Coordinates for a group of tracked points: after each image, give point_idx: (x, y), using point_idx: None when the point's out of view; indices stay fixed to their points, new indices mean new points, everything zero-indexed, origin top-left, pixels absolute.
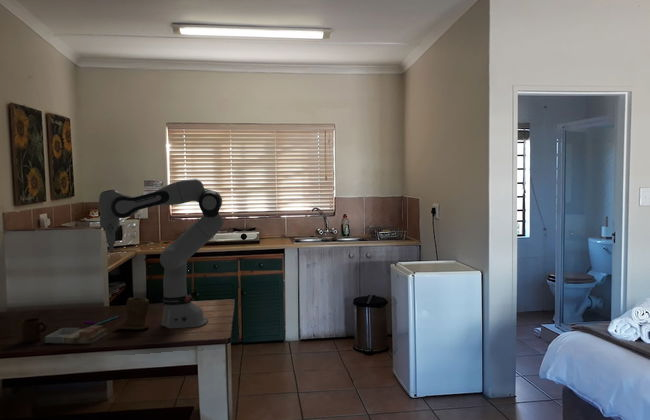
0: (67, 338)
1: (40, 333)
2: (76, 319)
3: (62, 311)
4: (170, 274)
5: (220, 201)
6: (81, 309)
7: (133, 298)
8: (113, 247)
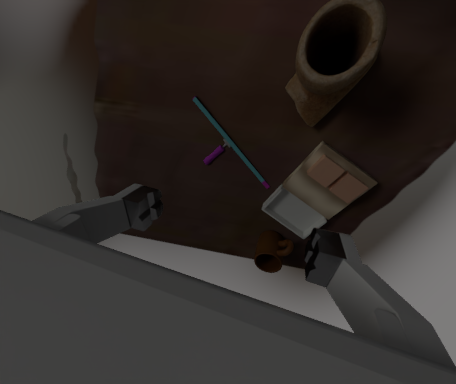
0: (334, 214)
1: (277, 239)
2: (175, 170)
3: (118, 178)
4: None
5: None
6: (111, 152)
7: (307, 61)
8: (397, 293)
